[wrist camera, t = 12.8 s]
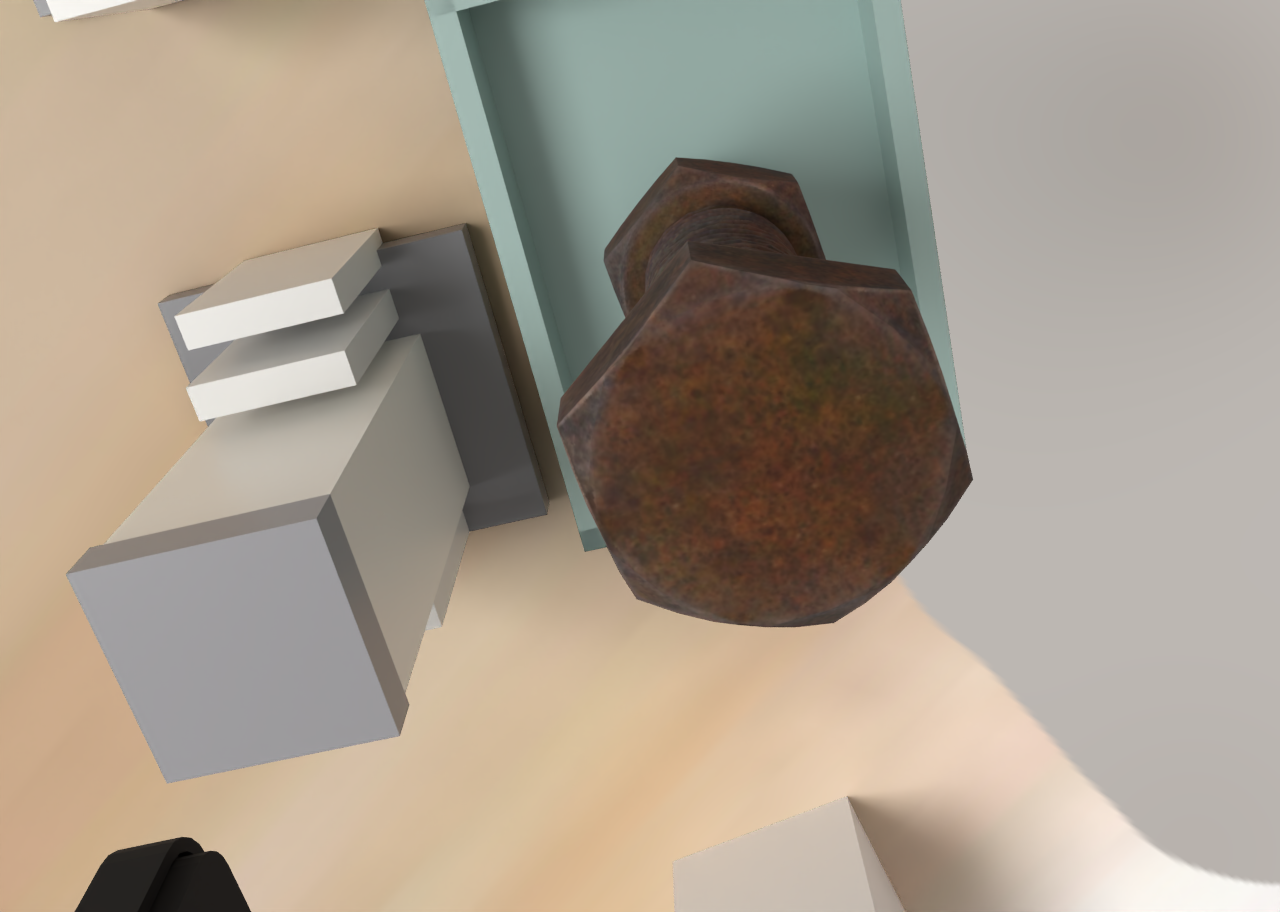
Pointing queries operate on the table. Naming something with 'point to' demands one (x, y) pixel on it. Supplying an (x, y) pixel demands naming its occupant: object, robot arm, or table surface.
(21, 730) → the table surface
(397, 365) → the block
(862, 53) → the tray
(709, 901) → the light grey cube
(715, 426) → the bolt
